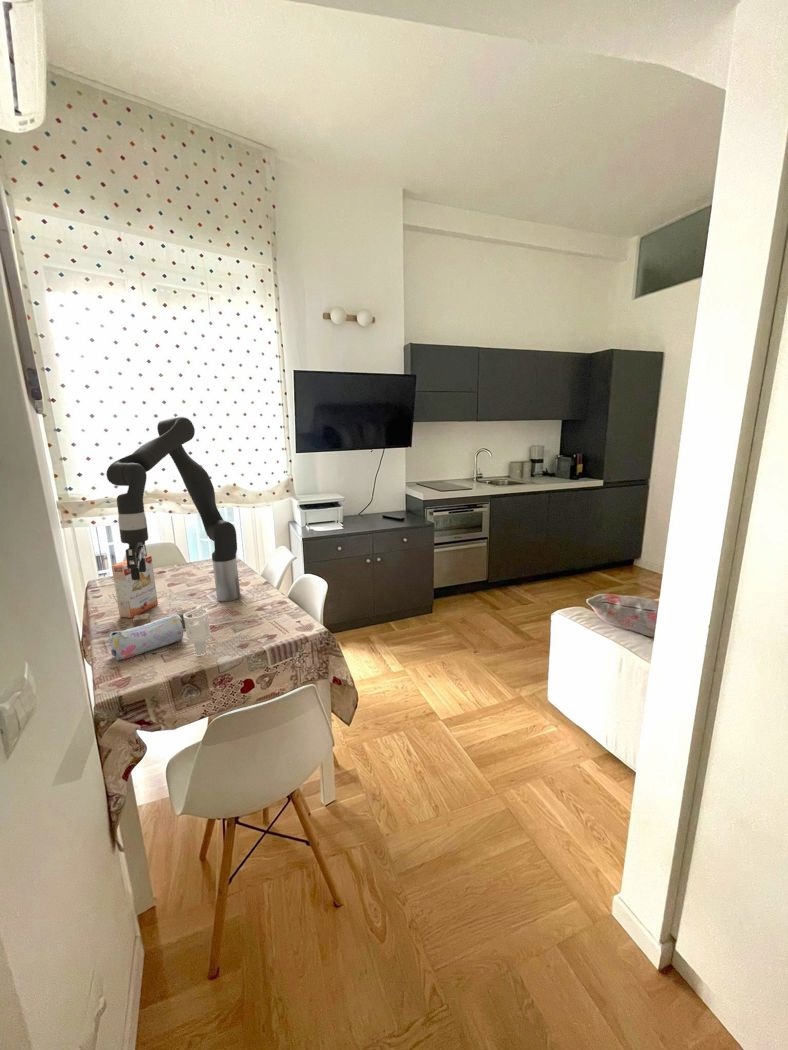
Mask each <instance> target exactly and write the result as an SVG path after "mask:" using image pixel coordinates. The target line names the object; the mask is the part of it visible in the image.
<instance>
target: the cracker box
mask: <svg viewBox="0 0 788 1050" xmlns="http://www.w3.org/2000/svg"><path fill="white" fill-rule="evenodd" d="M152 559H153V558H152V555H147V557H146V560H144V561H145V564H146V571H145V572H140V579H139V580H132V577H131V570H130V569H128V568H127V559H126V560H123V561H120V562H118V563H115V564H113V565H111V571H112V578H113V582H114V588H115V596H116V602H117V607H118V613H119V614H118V615H119V617H120V618H128V619H134V617H135V615H141V614H142V613H144V612H145V611H147V610H149V609H152V608H153V607H155V606H157V605H158V602H159V601H158V594H157V588H156V581H155V572H154V566H153V560H152ZM132 564H134V562H132Z"/></svg>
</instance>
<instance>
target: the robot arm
mask: <svg viewBox="0 0 788 1050" xmlns="http://www.w3.org/2000/svg"><path fill="white" fill-rule="evenodd" d="M195 430H196V429H195V426H194V423H193V422H192V421H191V420H190V419H189V417H185V416H177V417H172V418H168V419H163V420H160V421H159V422H158V423H157V434H158V437H155V438H153V439H152V440H149V441H147V442H145V443H144V444H142V445H141V446H139V447H138V448H137V449H136V450H135V451H133V452H132V453H130V454H129V455H126V456H124V457H121V458H119V459H118V460H115V461H114V462H112V463H111V464H110V465H109V467H107V470H106V478H107V481H108V482H109V483H110V484H112V485H114V486H121V487H128V488H127V492H126V493H125V492H124V493H122V494H119V495H118V496H117V497H116V507H117V513H118V528H119V535H120V537H119V538H120V542H121V543H122V544H127V545H128V548H126V549H125V557H126V558H125V559H126V560H127V568H128V569H130V570H131V577H132V580H139V579H140V572H145V571H146V564H145V561H144V560H146V557H147V556H148V555H147V547H146V541H148V540H149V532H148V523H147V518H146V513H145V505H144V494H145V489H146V485H147V472H149V471H151V470H152V469H153V468H155V466H156V465H157V464H158V463H160V461H162V460H163V459H164V458H165V457H166V456H167V455H169V456H170V457H171V459H172V461H173V463H174V465H175V467H176V469H177V470H178V472H179V475H180V477H181V478H182V481H183V485H185V489H186V490H187V492H188V494H189V496H190V498H191V500H192V502H193V504H194V507H195V508H196V510H197V512H198V514H199V516H200V519H201V521H202V524H203V528H204V531H205V533H206V536H207V537H208V538H209V540H211V541H213V545H214V551H213V552H212V554H211V559H212V561H211V562H212V568H213V576H214V584H215V593H216V594H215V595H216V599H217V601H219V602H224V601H225V602H232V601H235V600H238V599H241V598H242V597H241V588H240V580H239V569H238V559H237V552H238V542H237V541H238V539H237V530H236V527H235V526H234V524H233V523H232V522H229V521H227V520H224V519H223V517H222V515H221V513H220V511H219V510H218V506H217V503H216V493H215V488H214V485H213V483H212V480H211V478H210V475H209V474H208V472H207V471H206V469H204V467H203V466H202V465H200V464H199V463H198V462H197V461H195V460H194V459H193V458H192V457H191V456H190V455H189V454H188V452H186V450H185V448H184V446H183V444H186V443H187V442H189V441H191V440H192V439H193V438H194V437H195V432H196V431H195ZM132 562H134V564H132Z"/></svg>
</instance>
